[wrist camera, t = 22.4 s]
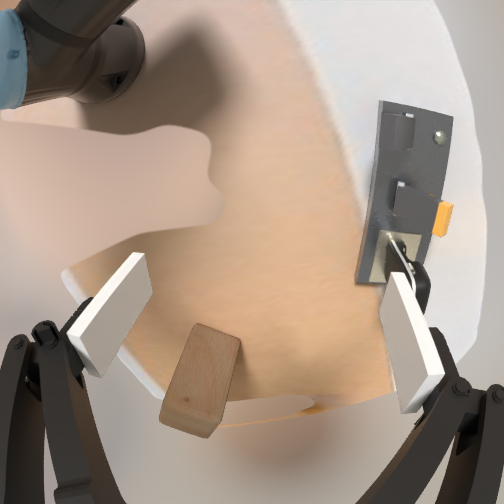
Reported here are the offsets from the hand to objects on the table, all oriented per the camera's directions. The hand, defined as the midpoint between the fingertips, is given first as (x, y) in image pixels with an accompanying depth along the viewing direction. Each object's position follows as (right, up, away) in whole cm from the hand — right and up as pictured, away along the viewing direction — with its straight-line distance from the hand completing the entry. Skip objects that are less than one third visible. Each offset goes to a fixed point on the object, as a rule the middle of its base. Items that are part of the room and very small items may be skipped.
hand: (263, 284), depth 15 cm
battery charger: (+22, +1, +27) cm, 35 cm away
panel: (+22, +9, +24) cm, 34 cm away
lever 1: (+19, +17, +17) cm, 31 cm away
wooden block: (-9, -18, +45) cm, 49 cm away
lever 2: (+19, +9, +21) cm, 30 cm away
